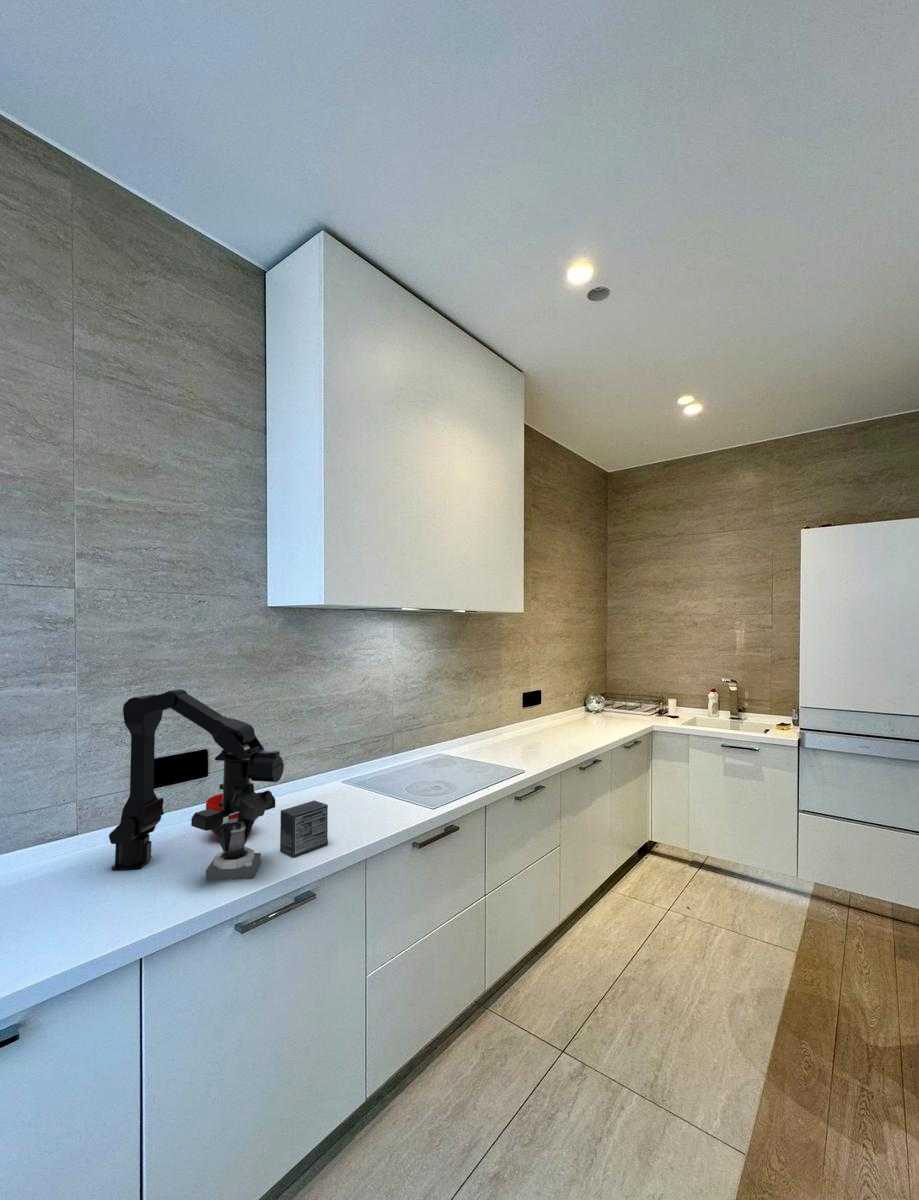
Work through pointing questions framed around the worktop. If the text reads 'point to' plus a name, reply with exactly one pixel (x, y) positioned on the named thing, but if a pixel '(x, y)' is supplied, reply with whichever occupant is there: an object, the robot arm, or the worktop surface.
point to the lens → (236, 839)
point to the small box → (303, 828)
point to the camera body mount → (233, 867)
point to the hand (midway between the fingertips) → (234, 847)
